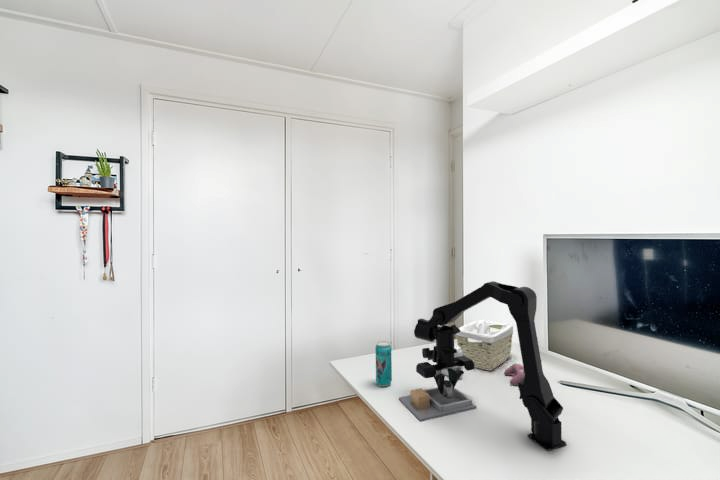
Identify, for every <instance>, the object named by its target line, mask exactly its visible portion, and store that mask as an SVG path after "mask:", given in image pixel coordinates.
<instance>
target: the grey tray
mask: <svg viewBox="0 0 720 480" xmlns="http://www.w3.org/2000/svg"><path fill="white" fill-rule="evenodd" d="M444 390H445V388H444ZM445 391H446V390H445ZM446 393H447V391H446ZM447 394H448V393H447ZM398 401H400V402H401V403H402V404H403V405H404V407H405V408H406V409H408V410H409V412H410V413H412V415H413V416H414V417H415V418H417V420H418V421H420V422H424V421H428V420H431V419H437V418H440V417H444V416H449V415H453V414H458V413H461V412H463V413H464V412H467V411H471V410H475V409H477V405H476V404H474V403H473V399H471V398H470V397H469V396H467V395H465V394H464V393H463V392H461V391H460V390H458V389H457V388H455V387H454V389H453V391H452V398H449V399H447V398H445V397H444V396H443V395H442V394H441V393H440V392H439V389H438V387H432V388H427V389H423V388H421V387H420V388H415V389H410V395H405V396H400V397H398Z"/></svg>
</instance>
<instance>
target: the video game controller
mask: <svg viewBox="0 0 720 480" xmlns="http://www.w3.org/2000/svg"><path fill="white" fill-rule="evenodd" d="M504 375H505V376H507V377H508V376H513V377H512V378H511V379H510V380H509V384H510V386H518V383H519V382H520V381H521V380H522V379H523V378H524V376H525V374H524V368H523V364H519V363H517V362H515V363H513V364H512V365H511V366H510V367H508V368H506V369H505V370H504Z"/></svg>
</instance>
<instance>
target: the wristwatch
mask: <svg viewBox="0 0 720 480" xmlns="http://www.w3.org/2000/svg"><path fill="white" fill-rule="evenodd" d="M444 388H445V390H446V391H447V393H448V394H447V393H446V391H445V390H444V389H443V394H442V395H443V396H444V397H445V398H447V399H449V398H452V390H453V384H452V383H451V382H450V381H449V379H447V380H446V379H444Z"/></svg>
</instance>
